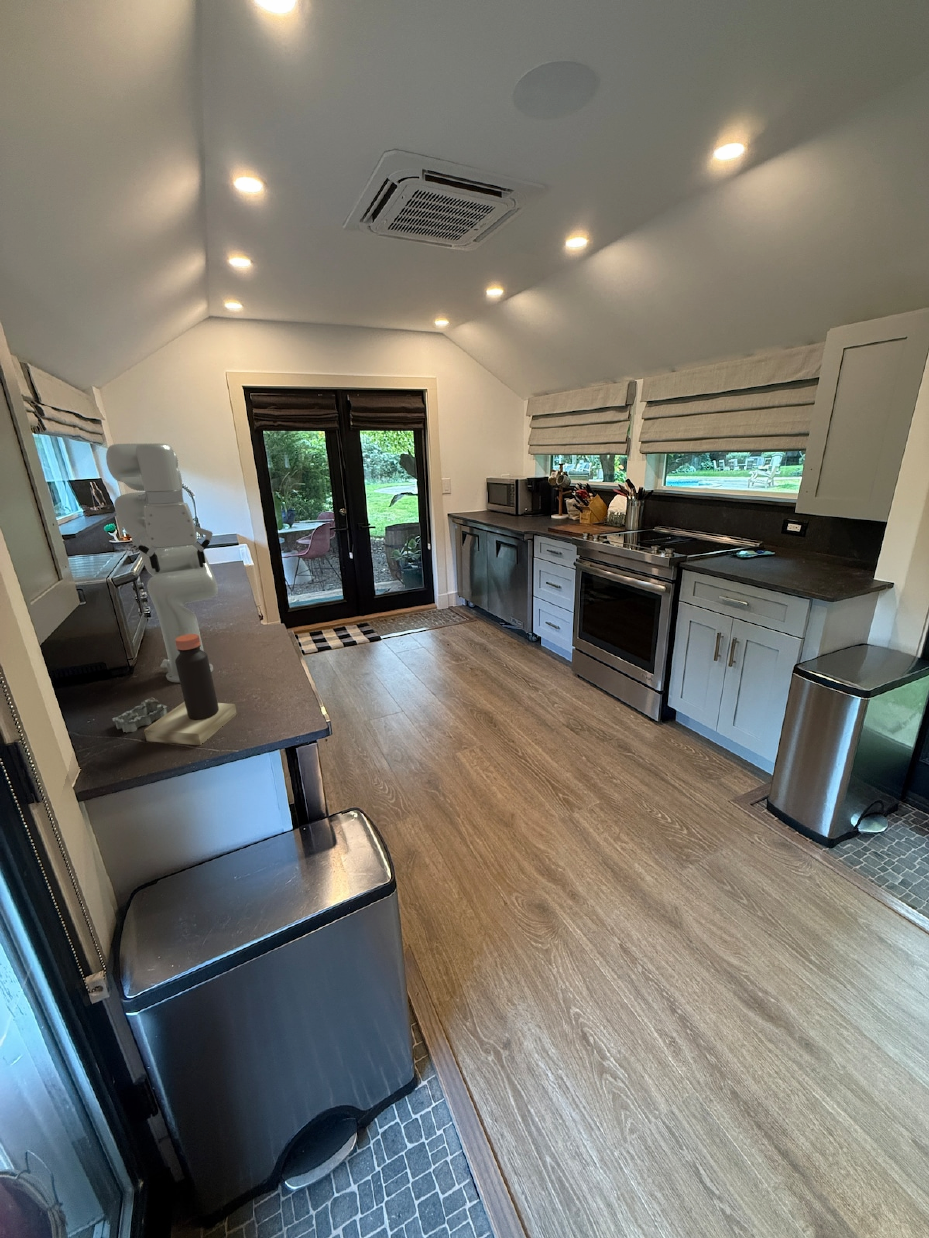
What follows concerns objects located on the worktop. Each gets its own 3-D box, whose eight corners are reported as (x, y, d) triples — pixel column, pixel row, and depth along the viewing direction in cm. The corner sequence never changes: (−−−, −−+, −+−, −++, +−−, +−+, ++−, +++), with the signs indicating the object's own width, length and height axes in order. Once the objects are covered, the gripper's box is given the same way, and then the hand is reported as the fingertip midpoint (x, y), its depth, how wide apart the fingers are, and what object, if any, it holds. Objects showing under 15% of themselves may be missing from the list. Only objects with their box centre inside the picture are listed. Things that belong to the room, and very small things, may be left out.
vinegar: (203, 722, 116) (185, 644, 109) (181, 718, 118) (163, 641, 112) (225, 709, 122) (209, 634, 116) (204, 705, 124) (188, 631, 118)
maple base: (146, 741, 115) (143, 729, 114) (187, 711, 128) (185, 700, 127) (200, 745, 112) (198, 733, 111) (236, 714, 125) (234, 703, 124)
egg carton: (158, 709, 130) (154, 695, 128) (172, 717, 125) (168, 702, 124) (112, 727, 121) (108, 712, 120) (125, 736, 117) (121, 721, 116)
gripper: (119, 502, 110) (137, 576, 115) (205, 497, 117) (218, 567, 122) (124, 499, 116) (141, 570, 122) (205, 495, 123) (218, 562, 129)
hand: (180, 568), depth 122 cm, fingers open, 9 cm apart
